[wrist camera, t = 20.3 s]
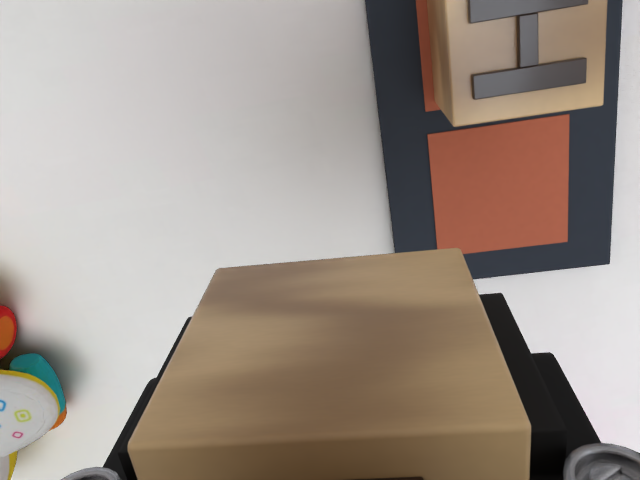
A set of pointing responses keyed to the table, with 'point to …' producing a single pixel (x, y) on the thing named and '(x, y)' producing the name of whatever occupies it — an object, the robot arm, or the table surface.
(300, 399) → the tile
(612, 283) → the table surface
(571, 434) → the robot arm
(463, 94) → the letter h cube
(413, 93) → the mat
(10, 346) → the toy airplane
